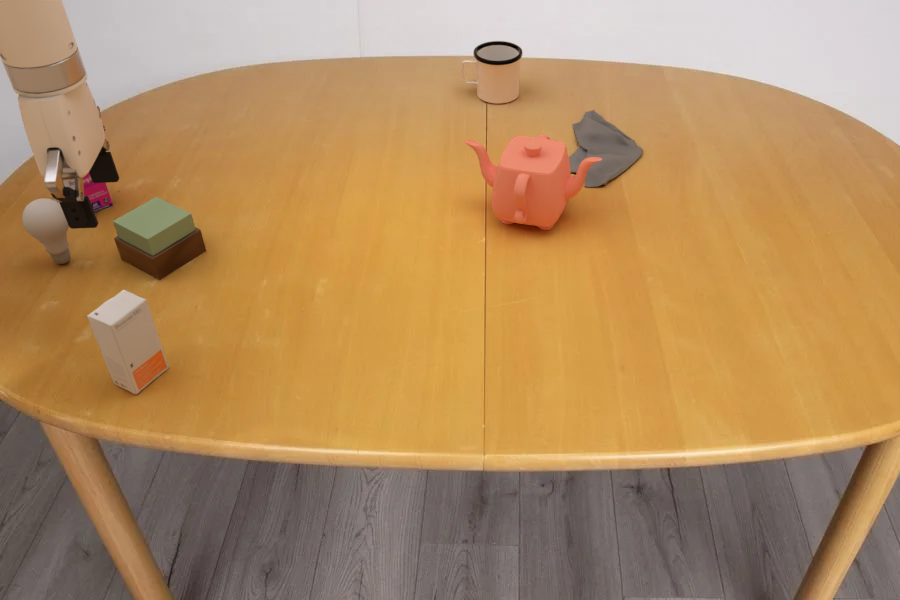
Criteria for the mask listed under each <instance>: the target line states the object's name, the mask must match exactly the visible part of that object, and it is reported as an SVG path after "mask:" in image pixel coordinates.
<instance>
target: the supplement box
mask: <svg viewBox="0 0 900 600" xmlns="http://www.w3.org/2000/svg"><path fill="white" fill-rule="evenodd" d="M72 172H75V170H72V169H71V168H63V172H62V173H72ZM63 183H64V186H65V187H70V188H72V189H74V190H75V184H74V179H68V180H63ZM83 184H84V196H88V197H89V199H90V202H91V205H92V207H93V210H94V213H96V212H99V211H101V210H104V209H107V208H110V207H112V206H113V205H114V203H113V199H112V197H111V194H110V190H109V188H108V185H107V183H94V182H93V181H92V179H91V177H90V174H89V172H88V174H87V175H86V176H84V177H83Z"/></svg>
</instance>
